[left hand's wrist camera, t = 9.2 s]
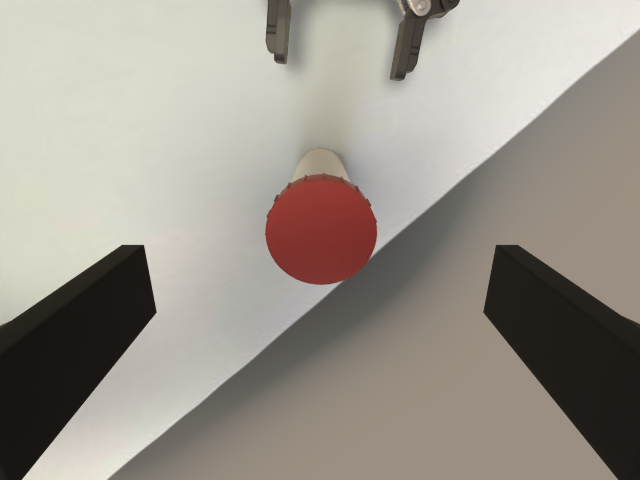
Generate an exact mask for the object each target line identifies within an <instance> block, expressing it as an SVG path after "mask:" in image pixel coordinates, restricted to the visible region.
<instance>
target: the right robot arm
mask: <svg viewBox="0 0 640 480" xmlns="http://www.w3.org/2000/svg"><path fill="white" fill-rule="evenodd" d="M459 1H460V0H397V2H398V4H399V6H400V9H401V11H402V14H403V16H404V20H403V21H402V22H401V23H400V24H399V30H398V36H397V41H396V47H395V52H394V58H393V64H392V69H391V75H390V79H391V80H397V81H401V80H403V79H404V78H405V75H406V73H409V72H412V71H413V69H414V68H415V66H416V64H417V60H418V54H419V50H420V45H421V40H422V35H423V30H424V26H425V23H426V21H427V20H428V19H432V18H441V17H443V16H444V15H445V14H447V12H449V11H450V10H452V9H453V8H455V7H456V6H457V5H458V3H459ZM290 17H291V5H290V1H289V0H268V13H267V28H266V45H267V48H268V51H269V52H270V53H273V54H274V60H275V62H276V63H280V64H286V63H287V53H288V41H289V29H290Z"/></svg>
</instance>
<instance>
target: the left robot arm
mask: <svg viewBox="0 0 640 480" xmlns="http://www.w3.org/2000/svg"><path fill="white" fill-rule="evenodd" d="M156 313H157V312H156V307H155V301H154V296H153V291H152V285H151V280H150V275H149V270H148V264H147V259H146V254H145V248H144V245H121V246H120V247H119V248H117V249H116V250H114V251H113V252H111V253H110V254H108V255H107V256H105V257H104V258H102V259H101V260H100V261H98V262H97V263H95V264H94V265H92V266H91V267H89V268H88V269H86V270H85V271H83V272H82V273H81V274H79V275H78V276H76V277H75V278H73V279H72V280H70V281H69V282H67V283H66V284H64V285H63V286H62V287H60V288H59V289H57V290H56V291H54V292H53V293H51V294H50V295H48V296H47V297H45V298H44V299H43V300H41V301H40V302H38V303H37V304H35V305H34V306H32V307H31V308H29V309H28V310H26V311H25V312H23V313H22V314H21V315H19V316H18V317H16V318H15V319H13V320H12V321H9V322H7V323H5V324H3V325H1V326H0V480H22V479H23V477H24V476H25V475H26V474H27V473H28V471H29V470H30V469H31V468H32V466H33V465H34V464H35V463H36V461H37V460H38V459H39V458H40V456H41V455H42V454H43V453H44V451H45V450H46V449H47V448H48V446H49V445H50V444H51V443H52V442H53V440H54V439H55V438H56V437H57V435H58V434H59V433H60V432H61V430H62V429H63V428H64V427H65V425H66V424H67V423H68V422H69V420H70V419H71V418H72V417H73V415H74V414H75V413H76V412H77V411H78V409H79V408H80V407H81V406H82V404H83V403H84V402H85V401H86V399H87V398H88V397H89V396H90V394H91V393H92V392H93V391H94V389H95V388H96V387H97V386H98V384H99V383H100V382H101V381H102V379H103V378H104V377H105V376H106V375H107V373H108V372H109V371H110V370H111V368H112V367H113V366H114V365H115V363H116V362H117V361H118V360H119V358H120V357H121V356H122V355H123V353H124V352H125V351H126V350H127V348H128V347H129V346H130V345H131V344H132V342H133V341H134V340H135V339H136V337H137V336H138V335H139V334H140V332H141V331H142V330H143V329H144V327H145V326H146V325H147V324H148V322H149V321H150V320H151V319H152V317H153V316H154V315H155V314H156ZM484 314H485V315H486V316H487V317H488V319H489V320H490V321H491V322H492V324H493V325H494V326H495V327H496V329H497V330H498V331H499V332H500V334H501V335H502V336H503V337H504V339H505V340H506V341H507V342H508V344H509V345H510V346H511V347H512V348H513V350H514V351H515V352H516V353H517V355H518V356H519V357H520V358H521V360H522V361H523V362H524V363H525V365H526V366H527V367H528V368H529V370H530V371H531V372H532V373H533V375H534V376H535V377H536V378H537V379H538V381H539V382H540V383H541V384H542V386H543V387H544V388H545V389H546V391H547V392H548V393H549V394H550V396H551V397H552V398H553V399H554V401H555V402H556V403H557V404H558V406H559V407H560V408H561V409H562V410H563V412H564V413H565V414H566V415H567V417H568V418H569V419H570V420H571V422H572V423H573V424H574V425H575V427H576V428H577V429H578V430H579V432H580V433H581V434H582V435H583V437H584V438H585V439H586V440H587V442H588V443H589V444H590V445H591V446H592V448H593V449H594V450H595V451H596V453H597V454H598V455H599V456H600V458H601V459H602V460H603V461H604V463H605V464H606V465H607V466H608V468H609V469H610V470H611V471H612V473H613V474H614V475H615V476H616V477H617V479H618V480H640V324H638V323H636V322H634V321H632V320H630V319H627V318H625V317H623V316H621V315H619V314H618V313H617V312H615V311H614V310H612V309H611V308H609V307H608V306H606V305H605V304H603V303H602V302H600V301H599V300H598V299H596V298H595V297H593V296H592V295H590V294H589V293H587V292H586V291H584V290H583V289H581V288H580V287H578V286H577V285H576V284H574V283H573V282H571V281H570V280H568V279H567V278H565V277H564V276H562V275H561V274H559V273H558V272H556V271H555V270H554V269H552V268H551V267H549V266H548V265H546V264H545V263H543V262H542V261H540V260H539V259H538V258H536V257H535V256H533V255H532V254H530V253H529V252H527V251H526V250H524V249H523V248H521V247H520V246H519V245H496V248H495V254H494V259H493V264H492V270H491V275H490V280H489V285H488V291H487V296H486V301H485V307H484Z"/></svg>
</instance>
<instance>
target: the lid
mask: <svg viewBox="0 0 640 480" xmlns="http://www.w3.org/2000/svg"><path fill="white" fill-rule="evenodd" d="M370 206H371V204H370V202H369V200H368V199H366V198H365V197H364V195H363V194H362V193H361V192H360V190H359V188H358V186H357V185H356V186H354V185H353V184H351V183H350V182H348V181H347V180H345V179H343V177H342V176H341V177H337V176H334V175H328V174H325V173H323V174H315V175H309V176H307V175H305V176H304V177H303V178H300V179H298V180H296V181H294V182H292V183H288V186H287V187H286V188H285V189H284V190H283V191H282V192H281V193H280V194H279V195H277V196H276V198H275V200H274V204H273V207H272V209H271V210H270V211H269V213H268V215H267V218H268V219H267V223H266V233H265V235H266V241H267V245H268V249H269V251H270V253H271V256H272V257H273V259H274V261H275V262H276V263H277V264H278V266H279V267H280V268H281V269H282V270H283V271H284V272H286V273H287V274H288V275H290V276H292V277H293V278H295V279H297V280H300V281H302V282H306V283H310V284H318V285H324V284H332V283H337V282H340V281H343V280H345V279H347V278H349V277H351V276H352V275H354V274H355V273H357V272H358V271H359V270H360V269H361V268H362V267H363V266H364V265H365V264H366V262H367V261H368V260H369V258H370V256H371V254H372V252H373V250H374V247H375V243H376V237H377V226H376V223H377V221H376V219H375V217H374V214H373V212H372V210H371V208H370Z"/></svg>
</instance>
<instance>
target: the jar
mask: <svg viewBox="0 0 640 480" xmlns="http://www.w3.org/2000/svg"><path fill="white" fill-rule="evenodd" d="M323 173H325V174H328V175H334V176H337V177H341V176H342V177H343V179H345V180H347V181H348V182H350V183H351V181H350V179H349V176H348V174H347V172H346V170H345V167H344V165H343V163H342V161H341V159H340V158H339V157H338V156H337V155H336V154H335V153H334V152H332V151H330V150H327V149H321V148H319V149H313V150H311V151H309V152H307V153H306V154H304V155H303V156H302V158H301V159H300V160H299V162H298V165H297V167H296V170H295V172H294V175H293V177H292V180H291V182H290V183H292V182H294V181H296V180H298V179H300V178H303V177H304V176H305V175H307V176H309V175H315V174H323ZM351 184H352V183H351Z"/></svg>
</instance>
